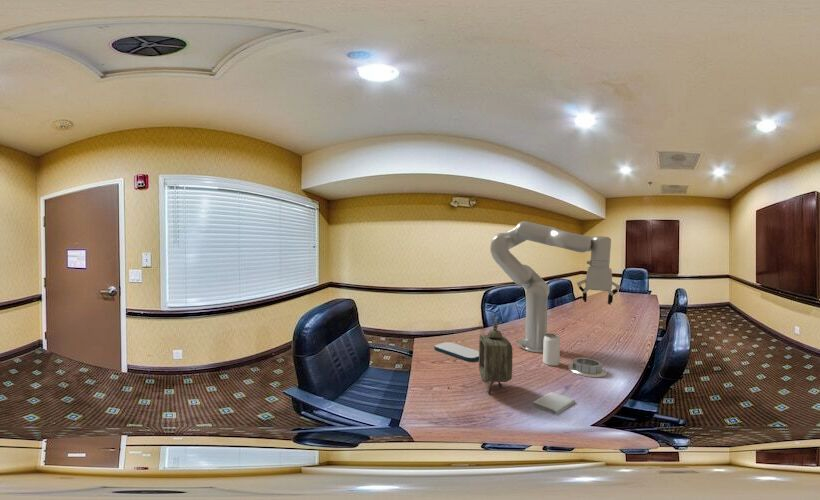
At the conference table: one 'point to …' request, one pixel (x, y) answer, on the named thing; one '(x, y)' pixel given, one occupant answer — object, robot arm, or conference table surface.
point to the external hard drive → (458, 351)
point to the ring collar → (587, 367)
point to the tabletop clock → (495, 357)
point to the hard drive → (553, 402)
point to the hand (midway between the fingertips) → (597, 302)
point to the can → (551, 350)
